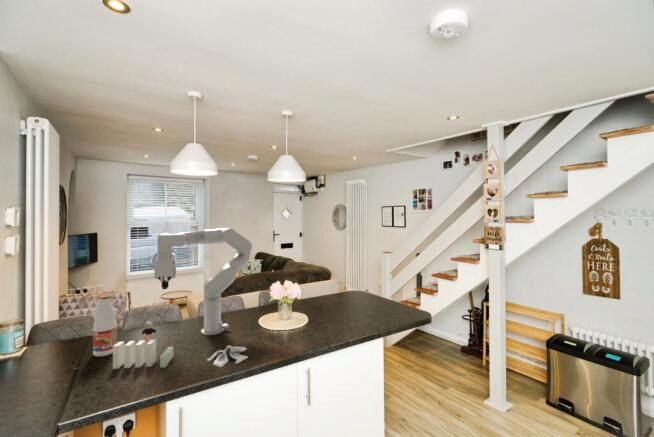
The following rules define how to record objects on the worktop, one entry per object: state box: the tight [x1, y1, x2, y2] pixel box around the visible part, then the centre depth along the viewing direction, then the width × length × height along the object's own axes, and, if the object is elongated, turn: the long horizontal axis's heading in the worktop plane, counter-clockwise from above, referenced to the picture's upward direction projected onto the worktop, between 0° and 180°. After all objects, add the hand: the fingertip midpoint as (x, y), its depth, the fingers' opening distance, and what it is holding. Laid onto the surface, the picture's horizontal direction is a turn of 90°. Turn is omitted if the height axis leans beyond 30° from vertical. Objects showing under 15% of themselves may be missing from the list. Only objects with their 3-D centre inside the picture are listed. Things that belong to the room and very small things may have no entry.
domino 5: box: [159, 346, 174, 368], centre depth 138 cm, size 2×5×10 cm
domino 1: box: [112, 340, 125, 370], centre depth 134 cm, size 2×5×10 cm, turn 9°
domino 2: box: [123, 340, 136, 369], centre depth 135 cm, size 2×5×10 cm, turn 9°
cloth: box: [206, 345, 249, 368], centre depth 143 cm, size 22×19×6 cm
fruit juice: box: [92, 294, 118, 357], centre depth 148 cm, size 9×9×28 cm
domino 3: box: [134, 339, 146, 368], centre depth 136 cm, size 2×5×10 cm, turn 9°
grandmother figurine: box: [140, 321, 158, 344], centre depth 156 cm, size 8×4×13 cm, turn 117°
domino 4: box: [145, 339, 157, 368], centre depth 136 cm, size 2×5×10 cm, turn 9°
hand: (165, 288), depth 167 cm, fingers closed
